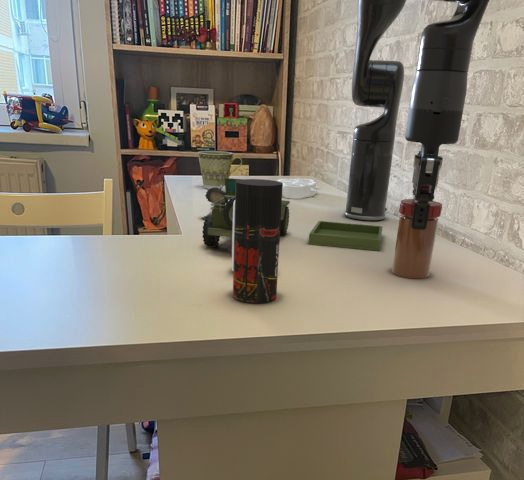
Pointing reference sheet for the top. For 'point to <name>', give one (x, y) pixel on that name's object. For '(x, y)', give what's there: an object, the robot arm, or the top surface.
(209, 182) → the ceramic cup
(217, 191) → the eagle figurine
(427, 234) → the jar
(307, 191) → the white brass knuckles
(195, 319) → the top surface
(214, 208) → the toy jeep
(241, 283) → the deodorant
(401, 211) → the jar lid
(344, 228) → the tray
